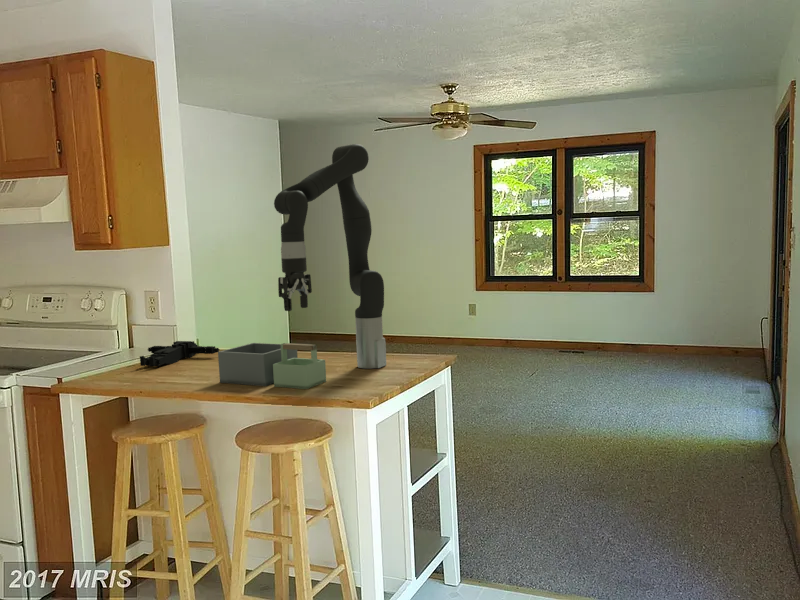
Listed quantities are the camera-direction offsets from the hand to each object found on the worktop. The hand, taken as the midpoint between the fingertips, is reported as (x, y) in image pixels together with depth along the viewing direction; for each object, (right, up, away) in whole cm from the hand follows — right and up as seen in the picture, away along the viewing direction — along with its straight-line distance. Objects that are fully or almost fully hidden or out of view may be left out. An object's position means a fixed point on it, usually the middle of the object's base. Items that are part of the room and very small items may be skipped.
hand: (296, 309), depth 221 cm
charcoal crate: (-14, -23, +13) cm, 30 cm away
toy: (-55, -21, +51) cm, 78 cm away
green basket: (+1, -23, +2) cm, 24 cm away
